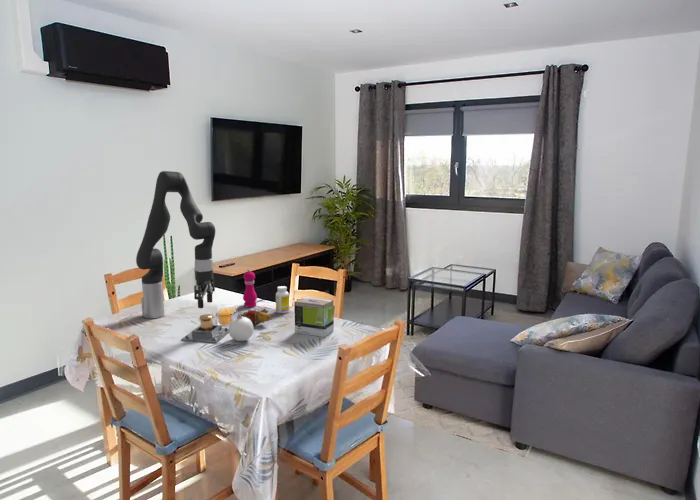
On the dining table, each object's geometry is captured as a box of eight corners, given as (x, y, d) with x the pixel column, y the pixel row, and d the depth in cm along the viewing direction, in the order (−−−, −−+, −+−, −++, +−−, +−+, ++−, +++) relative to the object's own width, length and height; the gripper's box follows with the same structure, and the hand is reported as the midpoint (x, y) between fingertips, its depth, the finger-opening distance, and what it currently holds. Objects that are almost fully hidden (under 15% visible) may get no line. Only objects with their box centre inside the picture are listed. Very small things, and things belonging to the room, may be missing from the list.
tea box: (334, 330, 223) (334, 299, 221) (323, 338, 214) (323, 305, 212) (305, 326, 230) (304, 295, 227) (294, 332, 221) (293, 300, 218)
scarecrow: (239, 330, 224) (238, 314, 222) (237, 319, 239) (236, 303, 237) (277, 327, 228) (276, 310, 227) (272, 316, 243) (272, 300, 242)
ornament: (232, 346, 204) (231, 318, 202) (226, 338, 213) (225, 311, 211) (256, 342, 209) (255, 315, 207) (249, 334, 218) (248, 308, 216)
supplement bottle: (291, 310, 253) (291, 286, 251) (285, 314, 247) (285, 289, 245) (279, 309, 255) (279, 285, 253) (273, 312, 249) (273, 288, 247)
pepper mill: (255, 307, 258) (254, 270, 254) (241, 307, 258) (240, 270, 254) (258, 303, 265) (257, 267, 261) (245, 303, 265) (243, 267, 261)
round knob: (198, 335, 215) (197, 317, 213) (204, 331, 220) (203, 313, 219) (210, 336, 214) (209, 318, 212) (215, 331, 219) (215, 314, 218)
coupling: (181, 340, 211) (180, 333, 210) (198, 328, 226) (198, 321, 226) (216, 343, 208) (216, 335, 207) (231, 330, 223) (231, 323, 223)
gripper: (203, 264, 219) (204, 300, 222) (187, 272, 205) (189, 309, 208) (219, 265, 218) (220, 301, 221) (204, 273, 204) (205, 310, 207)
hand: (205, 305), depth 215 cm, fingers open, 8 cm apart
